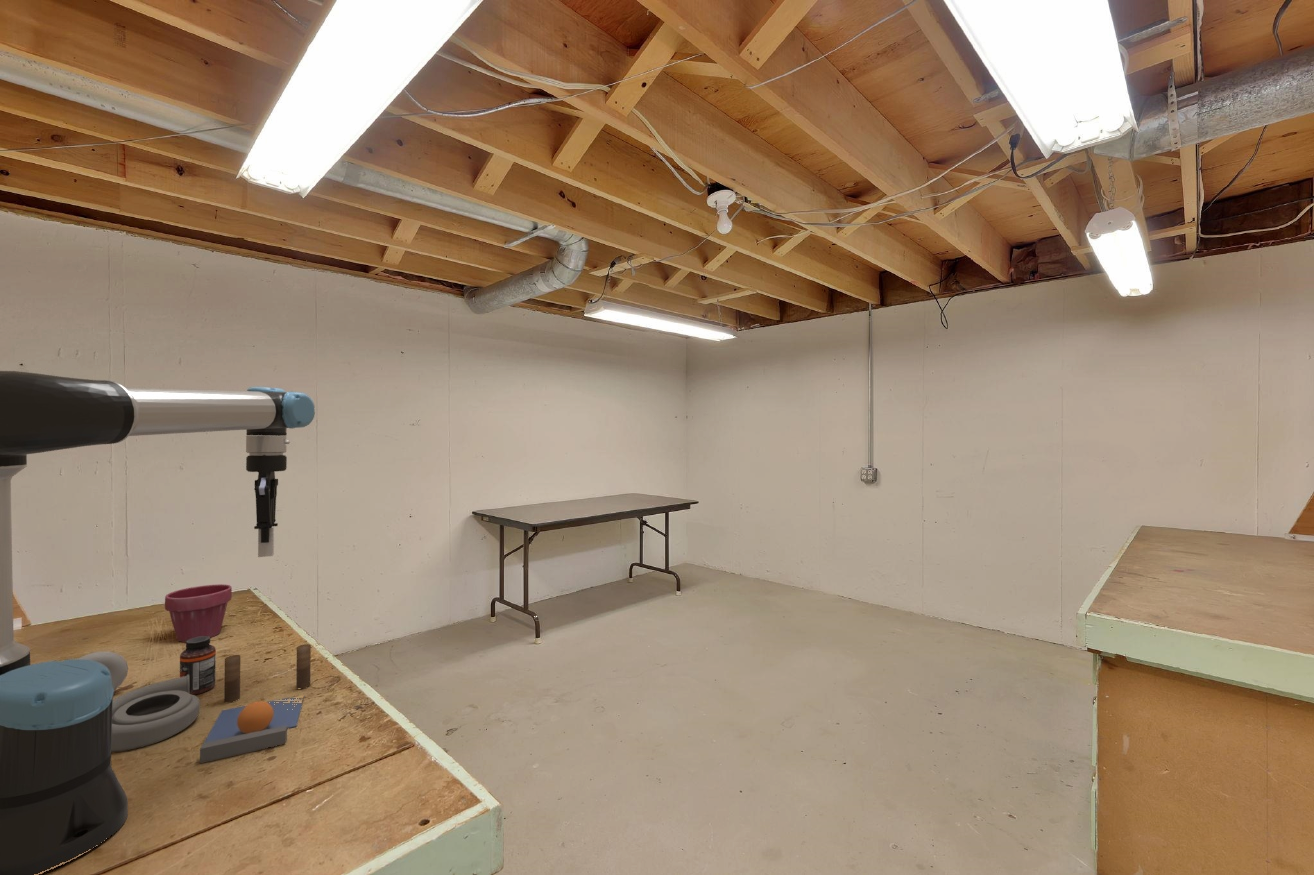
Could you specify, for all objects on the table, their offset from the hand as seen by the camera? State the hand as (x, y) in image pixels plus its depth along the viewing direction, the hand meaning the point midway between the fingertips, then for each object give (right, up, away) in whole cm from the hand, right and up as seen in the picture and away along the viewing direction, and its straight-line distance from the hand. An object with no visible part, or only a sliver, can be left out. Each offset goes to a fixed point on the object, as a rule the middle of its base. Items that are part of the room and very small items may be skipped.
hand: (265, 555), depth 121 cm
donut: (-29, -28, -10) cm, 42 cm away
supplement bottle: (-11, -29, -6) cm, 31 cm away
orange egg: (+15, -26, -22) cm, 37 cm away
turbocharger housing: (-7, -29, -21) cm, 36 cm away
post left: (0, -28, -10) cm, 30 cm away
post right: (+12, -28, -4) cm, 31 cm away
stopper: (+17, -28, -28) cm, 44 cm away
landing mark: (+12, -28, -18) cm, 35 cm away
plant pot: (-38, -29, +26) cm, 54 cm away
